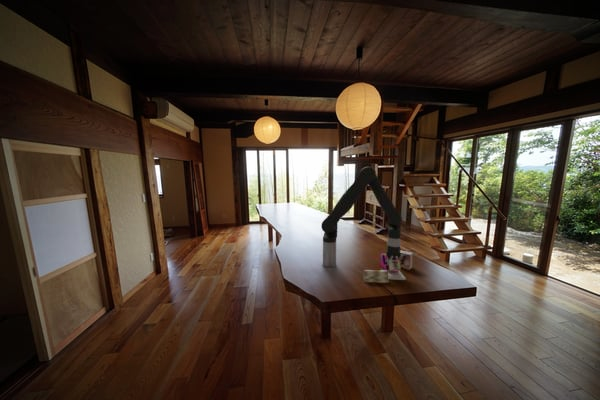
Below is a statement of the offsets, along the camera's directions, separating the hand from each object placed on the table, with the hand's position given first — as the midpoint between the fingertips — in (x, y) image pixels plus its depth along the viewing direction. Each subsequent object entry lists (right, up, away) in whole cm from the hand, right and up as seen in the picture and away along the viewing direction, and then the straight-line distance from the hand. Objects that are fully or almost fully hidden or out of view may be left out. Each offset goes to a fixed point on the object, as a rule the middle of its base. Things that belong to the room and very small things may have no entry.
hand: (392, 270), depth 130 cm
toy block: (+2, -2, +10) cm, 10 cm away
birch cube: (0, +2, +1) cm, 2 cm away
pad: (0, -3, 0) cm, 3 cm away
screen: (-13, -4, -6) cm, 15 cm away
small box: (+13, -2, +12) cm, 18 cm away
